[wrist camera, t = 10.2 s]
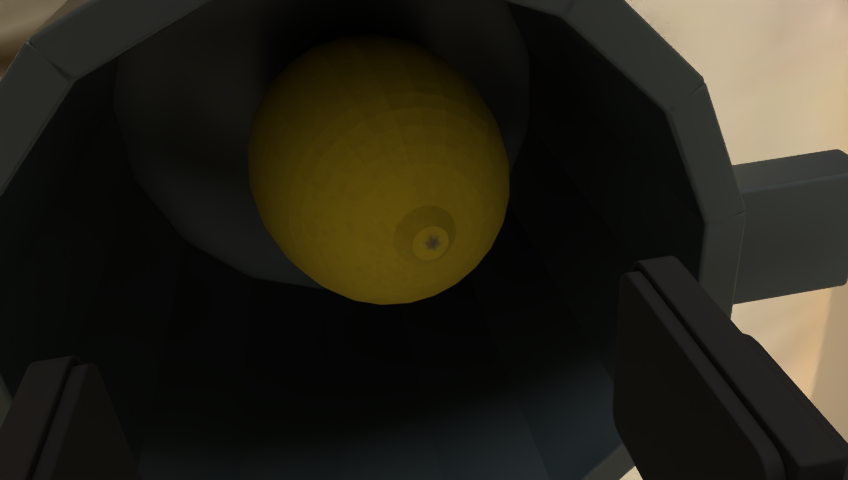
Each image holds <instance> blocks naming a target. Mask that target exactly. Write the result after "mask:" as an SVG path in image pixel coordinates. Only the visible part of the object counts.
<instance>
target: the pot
mask: <svg viewBox="0 0 848 480" xmlns="http://www.w3.org/2000/svg"><path fill="white" fill-rule="evenodd" d="M368 34H375V35H382V36H387V37H393V38H399V39H404V40H408V41H411V42H413V43H415V44H417V45H419V46H421V47H423V48H425V49H427V50H429V51H432V52H434V53H436V54H438V55H440V56H441V57H443V58H444V59H445V60H447V61H448V62H449V63H450V64H451V65H452V66H453V67H454V68H456V69H457V70H458V71H459V72H460V73H461V74H462V75H463V76H464V77H466V78H467V79H468V80H469V81H470V82H471V83H472V84H473V85H474V87H475V88H476V89H477V91H478V92H479V94H480V96H481V97H482V99H483V100H484V102H485V103H486V105H487V107H488V108H489V110H490V111H491V113H492V115H493V116H494V118H495V120H496V122H497V124H498V127H499V129H500V133H501V136H502V140H503V143H504V147H505V150H506V154H507V157H508V161H509V200H508V204H507V209H506V213H505V218H504V222H503V224H502V227H501V229H500V231H499V233H498V235H497V237H496V239H495V241H494V243H493V245H492V247H491V249H490V250H489V251H488V253H487V254H486V255H485V256H484V258H483V259H482V260H481V261H480V263H479V264H478V265H477V266H476V268H475V269H473V270H472V271H471V272H470V273H469V274H467V275H466V276H465V277H464V278H463V279H461V280H460V281H459V282H458V283H457V284H455V285H453V286H451V287H450V288H448V289H446V290H444V291H442V292H440V293H438V294H437V295H435V296H432V297H428V298H425V299H421V300H418V301H415V302H411V303H399V304H386V305H380V304H373V303H367V302H361V301H355V300H352V299H350V298H347V297H345V296H342V295H340V294H338V293H336V292H333V291H331V290H329V289H327V288H324V287H323V286H321V285H320V284H318V283H317V282H316V281H314V280H313V279H312V278H311V277H309V276H308V275H307V274H306V273H304V272H303V271H302V270H301V269H299V268H298V267H297V266H296V265H294V264H293V263H292V262H291V261H290V260H289V259H288V258H287V257H286V255H285V254H284V253H283V251H282V250H281V249H280V247H279V246H278V244H277V243H276V242H275V240H274V239H273V237H272V236H271V235H270V233H269V232H268V230H267V229H266V227H265V226H264V224H263V222H262V220H261V217H260V214H259V211H258V209H257V206H256V203H255V200H254V197H253V194H252V191H251V188H250V183H249V168H248V150H247V147H248V142H249V137H250V133H251V128H252V123H253V118H254V114H255V112H256V110H257V108H258V106H259V104H260V102H261V100H262V98H263V96H264V94H265V92H266V90H267V88H268V87H269V85H270V84H271V83H272V82H273V81H274V80H275V78H276V77H277V76H278V75H279V74H280V73H281V72H282V71H283V69H284V68H285V67H286V66H287V65H288V64H289V63H290V62H292V61H293V60H295V59H296V58H297V57H299V56H300V55H302V54H303V53H305V52H306V51H308V50H309V49H311V48H312V47H314V46H317V45H320V44H323V43H326V42H329V41H331V40H334V39H337V38H340V37H344V36H356V35H368ZM666 256H674V257H676V258H677V259H678V260H679V261H680V262H681V263H682V264H683V266H684V267H685V268H686V269H687V270H688V271H689V272H690V274H691V275H692V276H693V277H694V278H695V279H696V281H697V282H698V283H699V284H700V285H701V286H702V287H703V289H704V290H705V291H706V292H707V293H708V294H709V296H710V297H711V298H712V299H713V300H714V301H715V302H716V304H717V305H718V306H719V307H720V308H721V309H722V310H723V312H724V313H725V314H726V315H727V316H728V317H729V319H730V320H731V313H732V306H733V304H739V303H745V302H750V301H756V300H762V299H768V298H773V297H779V296H785V295H790V294H796V293H802V292H808V291H813V290H819V289H825V288H831V287H836V286H841V285H845V284H846V282H847V279H848V155H847V154H846V153H844V152H843V151H841V150H838V149H835V150H828V151H822V152H815V153H809V154H802V155H796V156H790V157H783V158H777V159H770V160H764V161H758V162H751V163H745V164H738V165H732V164H731V161H730V158H729V155H728V152H727V148H726V145H725V142H724V139H723V136H722V133H721V130H720V126H719V123H718V120H717V117H716V114H715V111H714V108H713V104H712V101H711V98H710V95H709V92H708V89H707V86H706V84H705V83H704V79H703V77H702V76H701V75H700V74H699V73H698V72H697V71H696V70H695V69H694V68H693V67H692V66H691V65H690V64H689V63H688V62H687V61H686V60H685V59H684V58H683V57H682V56H681V55H680V54H679V53H678V52H677V51H676V50H675V49H674V48H672V47H671V46H670V45H669V44H668V43H667V42H666V41H665V40H664V39H663V38H662V37H661V36H660V35H659V34H658V33H657V32H656V31H655V30H654V29H653V28H652V27H651V26H650V25H649V24H648V23H647V22H646V21H645V20H644V19H643V18H642V17H641V16H640V15H639V14H638V13H637V12H636V11H635V10H634V9H633V8H632V7H631V6H630V5H629V4H628V3H627V2H626V1H625V0H68V1H67V2H66V3H65V4H64V5H62V6H61V7H60V8H59V9H58V10H57V11H56V12H55V13H54V14H53V15H52V16H51V17H50V18H49V19H48V20H47V21H46V22H45V23H44V24H43V25H42V26H41V27H40V28H38V29H37V30H36V31H35V32H34V33H33V34H32V35H31V36H30V37H29V38H28V39H27V40H26V41H25V42H24V43H23V45H22V46H21V48H20V49H19V51H18V53H17V54H16V56H15V58H14V59H13V61H12V63H11V64H10V66H9V68H8V69H7V71H6V72H5V74H4V76H3V77H2V79H1V81H0V429H1V427H2V424H3V422H4V420H5V418H6V415H7V413H8V411H9V408H10V406H11V404H12V402H13V399H14V397H15V395H16V392H17V390H18V388H19V386H20V383H21V381H22V379H23V376H24V374H25V372H26V369H27V368H28V366H29V365H30V364H31V363H33V362H37V361H43V360H49V359H55V358H61V357H67V356H73V355H75V356H78V357H79V358H80V359H81V360H82V362H83V364H89V363H93V364H95V365H96V366H97V368H98V370H99V372H100V375H101V377H102V380H103V382H104V385H105V387H106V390H107V392H108V395H109V397H110V400H111V402H112V405H113V407H114V410H115V413H116V415H117V418H118V420H119V423H120V425H121V428H122V430H123V433H124V435H125V438H126V440H127V443H128V445H129V448H130V450H131V453H132V455H133V458H134V461H135V463H136V466H137V468H138V471H139V473H140V476H141V478H142V480H619V479H621V478H622V477H623V476H624V475H625V474H626V473H627V472H628V471H630V470H631V469H632V468H633V467H634V466H635V464H634V462H633V460H632V458H631V457H630V455H629V453H628V451H627V449H626V447H625V445H624V444H623V442H622V440H621V438H620V436H619V434H618V432H617V429H616V426H615V423H614V419H613V390H614V373H615V356H616V338H617V321H618V303H619V286H620V278H621V276H622V274H624V273H630V270H631V267H632V264H633V263H634V262H636V261H642V260H648V259H654V258H660V257H666Z"/></svg>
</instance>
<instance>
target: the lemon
mask: <svg viewBox="0 0 848 480" xmlns="http://www.w3.org/2000/svg"><path fill="white" fill-rule="evenodd" d="M247 150H248V168H249V183H250V188H251V191H252V194H253V197H254V200H255V203H256V206H257V209H258V211H259V214H260V217H261V220H262V222H263V224H264V226H265V227H266V229H267V230H268V232H269V233H270V235H271V236H272V237H273V239H274V240H275V242H276V243H277V244H278V246H279V247H280V249H281V250H282V251H283V253H284V254H285V255H286V257H287V258H288V259H289V260H290V261H291V262H292V263H293V264H294V265H296V266H297V267H298V268H299V269H301V270H302V271H303V272H304V273H306V274H307V275H308V276H309V277H311V278H312V279H313V280H314V281H316V282H317V283H318V284H320V285H321V286H323V287H324V288H327V289H329V290H331V291H333V292H336V293H338V294H340V295H342V296H345V297H347V298H350V299H352V300H355V301H361V302H367V303H373V304H380V305H386V304H399V303H411V302H415V301H418V300H421V299H425V298H428V297H432V296H435V295H437V294H438V293H440V292H442V291H444V290H446V289H448V288H450V287H451V286H453V285H455V284H457V283H458V282H459V281H460V280H461V279H463V278H464V277H465V276H466V275H467V274H469V273H470V272H471V271H472V270H473V269H475V268H476V266H477V265H478V264H479V263H480V261H481V260H482V259H483V258H484V256H485V255H486V254H487V253H488V251H489V250H490V249H491V247H492V245H493V243H494V241H495V239H496V237H497V235H498V233H499V231H500V229H501V227H502V224H503V222H504V218H505V213H506V209H507V204H508V200H509V161H508V157H507V154H506V150H505V147H504V143H503V140H502V136H501V133H500V129H499V127H498V124H497V122H496V120H495V118H494V116H493V115H492V113H491V111H490V110H489V108H488V107H487V105H486V103H485V102H484V100H483V99H482V97H481V96H480V94H479V92H478V91H477V89H476V88H475V87H474V85H473V84H472V83H471V82H470V81H469V80H468V79H467V78H466V77H464V76H463V75H462V74H461V73H460V72H459V71H458V70H457V69H456V68H454V67H453V66H452V65H451V64H450V63H449V62H448V61H447V60H445V59H444V58H443V57H441V56H440V55H438V54H436V53H434V52H432V51H429V50H427V49H425V48H423V47H421V46H419V45H417V44H415V43H413V42H411V41H408V40H404V39H399V38H393V37H387V36H382V35H375V34H368V35H356V36H344V37H340V38H337V39H334V40H331V41H329V42H326V43H323V44H320V45H317V46H314V47H312V48H311V49H309V50H308V51H306V52H305V53H303V54H302V55H300V56H299V57H297V58H296V59H295V60H293V61H292V62H290V63H289V64H288V65H287V66H286V67H285V68H284V69H283V71H282V72H281V73H280V74H279V75H278V76H277V77H276V78H275V80H274V81H273V82H272V83H271V84H270V85H269V87H268V88H267V90H266V92H265V94H264V96H263V98H262V100H261V102H260V104H259V106H258V108H257V110H256V112H255V114H254V118H253V123H252V128H251V133H250V137H249V142H248V147H247Z"/></svg>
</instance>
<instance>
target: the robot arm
mask: <svg viewBox="0 0 848 480" xmlns="http://www.w3.org/2000/svg"><path fill="white" fill-rule="evenodd" d="M613 419H614V423H615V426H616V429H617V432H618V434H619V436H620V438H621V440H622V442H623V444H624V445H625V447H626V449H627V451H628V453H629V455H630V457H631V458H632V460H633V462H634V464H635V466H636V468H637V470H638V471H639V473H640V475H641V477H642V479H643V480H848V443H847V442H846V441H845V440H844V439H843V438H842V436H841V435H840V434H839V433H838V432H837V431H836V430H835V428H834V427H833V426H832V425H831V424H830V423H829V422H828V421H827V419H826V418H825V417H824V416H823V415H822V414H821V413H820V411H819V410H818V409H817V408H816V407H815V406H814V405H813V404H812V402H811V401H810V400H809V399H808V398H807V397H806V396H805V394H804V393H803V392H802V391H801V390H800V389H799V388H798V387H797V385H796V384H795V383H794V382H793V381H792V380H791V379H790V377H789V376H788V375H787V374H786V373H785V372H784V371H783V370H782V368H781V367H780V366H779V365H778V364H777V363H776V362H775V361H774V359H773V358H772V357H771V356H770V355H769V354H768V353H767V351H766V350H765V349H764V348H763V347H762V346H761V345H760V344H759V342H757V341H756V340H755V339H754V338H753V337H752V336H750V335H747V334H744V333H743V334H742V332H741V331H740V330H739V329H738V328H737V327H736V325H735V324H734V323H733V322H732V321H731V320H730V319H729V317H728V316H727V315H726V314H725V313H724V312H723V310H722V309H721V308H720V307H719V306H718V305H717V304H716V302H715V301H714V300H713V299H712V298H711V297H710V296H709V294H708V293H707V292H706V291H705V290H704V289H703V287H702V286H701V285H700V284H699V283H698V282H697V281H696V279H695V278H694V277H693V276H692V275H691V274H690V272H689V271H688V270H687V269H686V268H685V267H684V266H683V264H682V263H681V262H680V261H679V260H678V259H677V258H676V257H674V256H666V257H660V258H654V259H648V260H642V261H636V262H634V263H633V264H632V267H631V270H630V273H624V274H622V276H621V278H620V286H619V303H618V321H617V338H616V356H615V373H614V390H613ZM0 480H142V478H141V476H140V473H139V471H138V468H137V466H136V463H135V461H134V458H133V455H132V453H131V450H130V448H129V445H128V443H127V440H126V438H125V435H124V433H123V430H122V428H121V425H120V423H119V420H118V418H117V415H116V413H115V410H114V407H113V405H112V402H111V400H110V397H109V395H108V392H107V390H106V387H105V385H104V382H103V380H102V377H101V375H100V372H99V370H98V368H97V366H96V365H95V364H93V363H89V364H83V362H82V360H81V359H80V358H79V357H78V356H75V355H73V356H67V357H61V358H55V359H49V360H43V361H37V362H33V363H31V364H30V365H29V366H28V368H27V369H26V372H25V374H24V376H23V379H22V381H21V383H20V386H19V388H18V390H17V392H16V395H15V397H14V399H13V402H12V404H11V406H10V408H9V411H8V413H7V415H6V418H5V420H4V422H3V424H2V427H1V429H0Z"/></svg>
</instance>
